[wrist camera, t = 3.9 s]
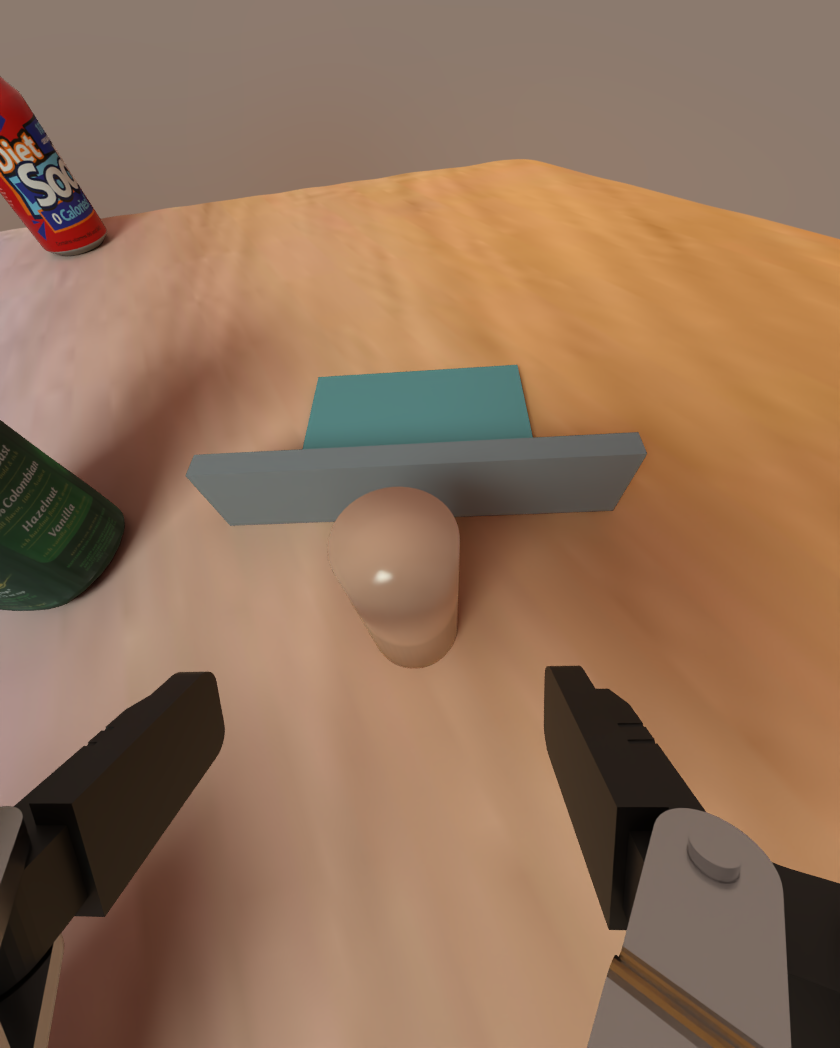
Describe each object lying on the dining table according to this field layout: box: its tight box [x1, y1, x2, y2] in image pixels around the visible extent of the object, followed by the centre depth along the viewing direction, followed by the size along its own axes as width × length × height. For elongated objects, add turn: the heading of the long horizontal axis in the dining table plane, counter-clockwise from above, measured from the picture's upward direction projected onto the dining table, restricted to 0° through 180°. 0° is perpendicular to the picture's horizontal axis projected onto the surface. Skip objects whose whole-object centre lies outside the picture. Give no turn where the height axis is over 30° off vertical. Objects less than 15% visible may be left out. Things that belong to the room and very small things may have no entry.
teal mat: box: [303, 365, 533, 449], centre depth 29 cm, size 16×11×1 cm
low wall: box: [186, 432, 647, 526], centre depth 23 cm, size 24×2×5 cm, turn 90°
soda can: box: [0, 76, 107, 256], centre depth 45 cm, size 8×8×15 cm
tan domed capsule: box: [327, 487, 460, 668], centre depth 17 cm, size 4×4×9 cm
